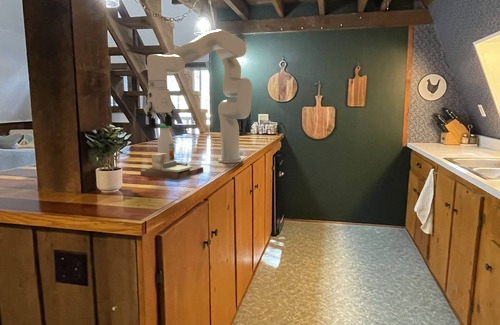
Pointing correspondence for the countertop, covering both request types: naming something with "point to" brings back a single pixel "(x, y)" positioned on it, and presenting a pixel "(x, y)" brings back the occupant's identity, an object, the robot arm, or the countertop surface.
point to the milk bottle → (166, 143)
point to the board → (171, 174)
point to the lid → (174, 167)
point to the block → (158, 160)
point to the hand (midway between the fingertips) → (160, 126)
